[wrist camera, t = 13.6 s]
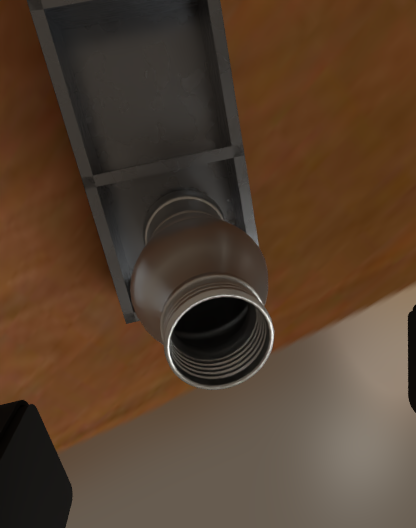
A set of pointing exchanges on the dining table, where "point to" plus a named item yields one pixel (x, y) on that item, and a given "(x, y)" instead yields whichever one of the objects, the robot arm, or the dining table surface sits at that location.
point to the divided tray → (145, 113)
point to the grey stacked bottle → (202, 292)
